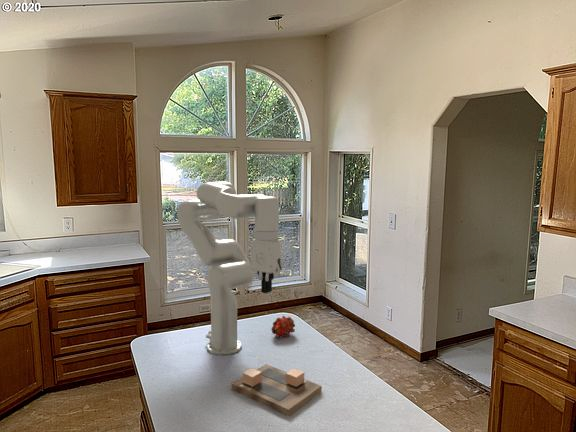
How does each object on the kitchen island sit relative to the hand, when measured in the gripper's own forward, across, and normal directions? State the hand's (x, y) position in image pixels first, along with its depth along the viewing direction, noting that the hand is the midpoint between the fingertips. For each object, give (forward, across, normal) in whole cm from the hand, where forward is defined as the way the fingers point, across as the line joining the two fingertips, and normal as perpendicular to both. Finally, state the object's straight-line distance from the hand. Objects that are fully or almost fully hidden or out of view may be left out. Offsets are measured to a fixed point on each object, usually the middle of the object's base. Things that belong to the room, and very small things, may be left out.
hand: (266, 291), depth 138 cm
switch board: (+27, +10, -7) cm, 30 cm away
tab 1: (+25, +4, -11) cm, 27 cm away
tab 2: (+25, +14, -3) cm, 29 cm away
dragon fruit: (+27, -14, +26) cm, 40 cm away
